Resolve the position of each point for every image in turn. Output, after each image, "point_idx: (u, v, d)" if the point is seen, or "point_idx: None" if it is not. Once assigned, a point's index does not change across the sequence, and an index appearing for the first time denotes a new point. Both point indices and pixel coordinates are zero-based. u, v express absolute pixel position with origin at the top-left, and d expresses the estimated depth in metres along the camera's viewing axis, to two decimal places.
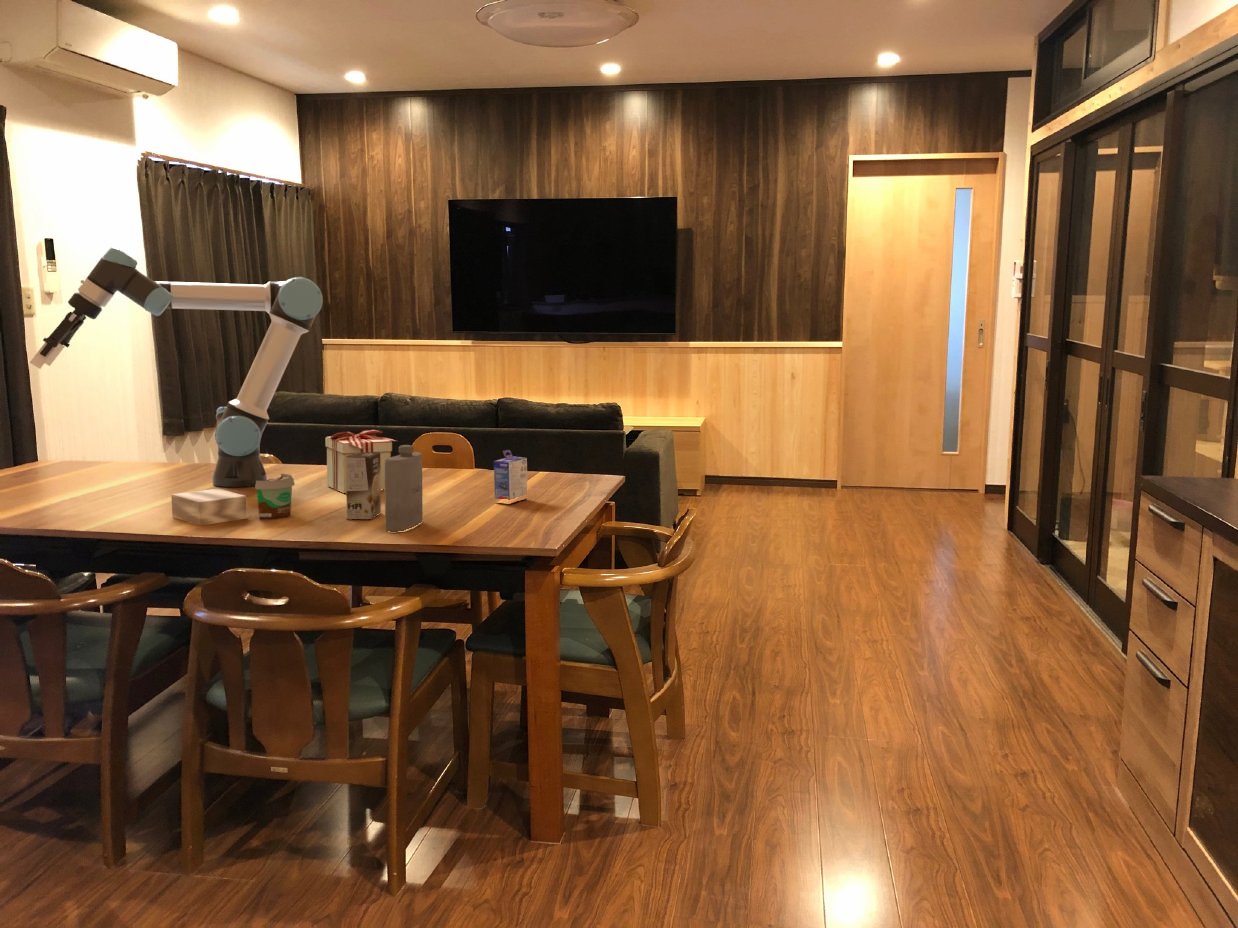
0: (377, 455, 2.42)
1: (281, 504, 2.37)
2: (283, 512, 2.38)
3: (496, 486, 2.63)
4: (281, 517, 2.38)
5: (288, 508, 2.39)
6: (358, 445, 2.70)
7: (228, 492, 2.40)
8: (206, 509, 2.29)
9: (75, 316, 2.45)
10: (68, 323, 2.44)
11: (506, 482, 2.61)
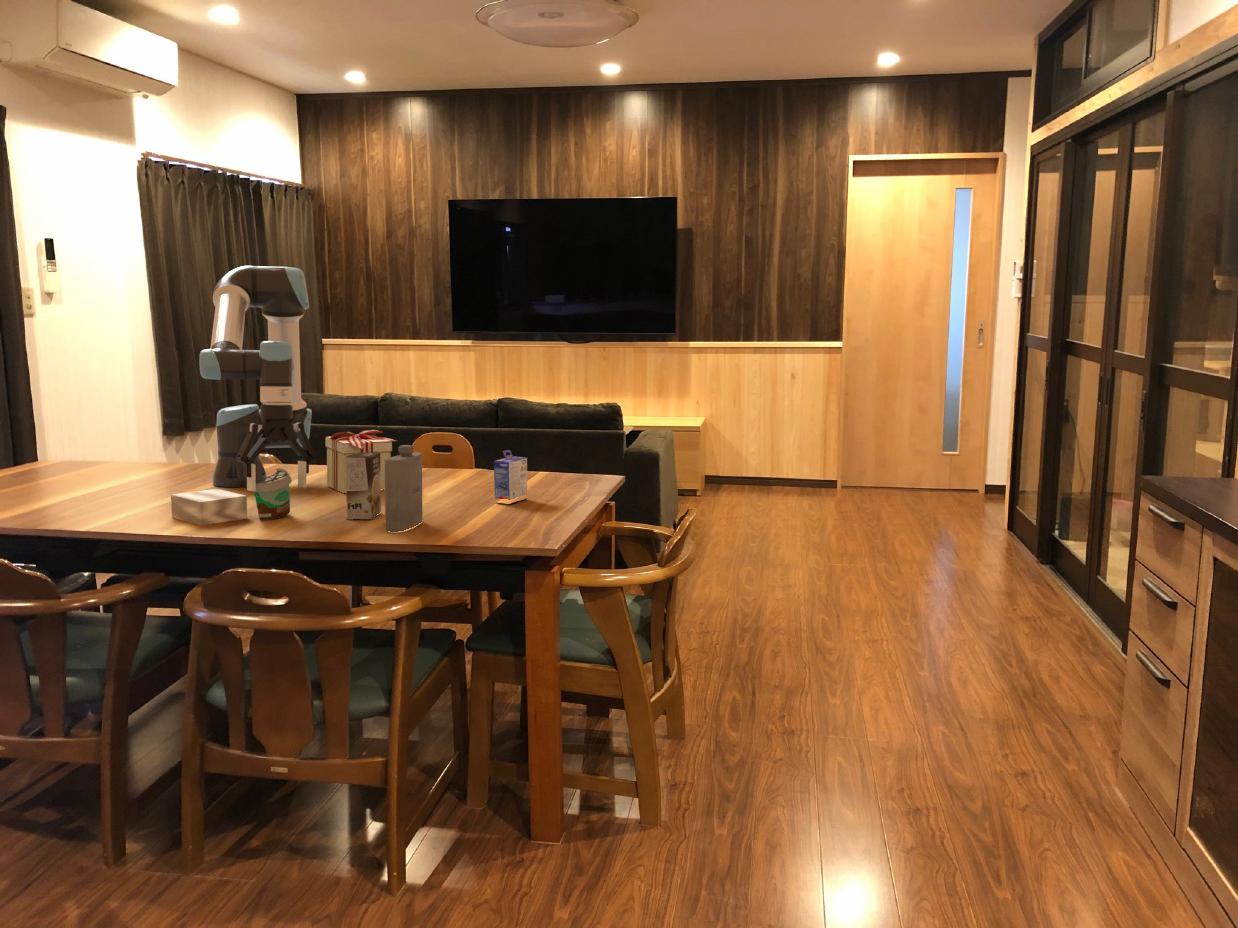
0: (377, 455, 2.42)
1: (280, 503, 2.36)
2: (282, 510, 2.37)
3: (496, 486, 2.63)
4: (281, 516, 2.37)
5: (287, 505, 2.39)
6: (358, 445, 2.70)
7: (228, 492, 2.40)
8: (207, 509, 2.29)
9: None
10: None
11: (506, 482, 2.61)
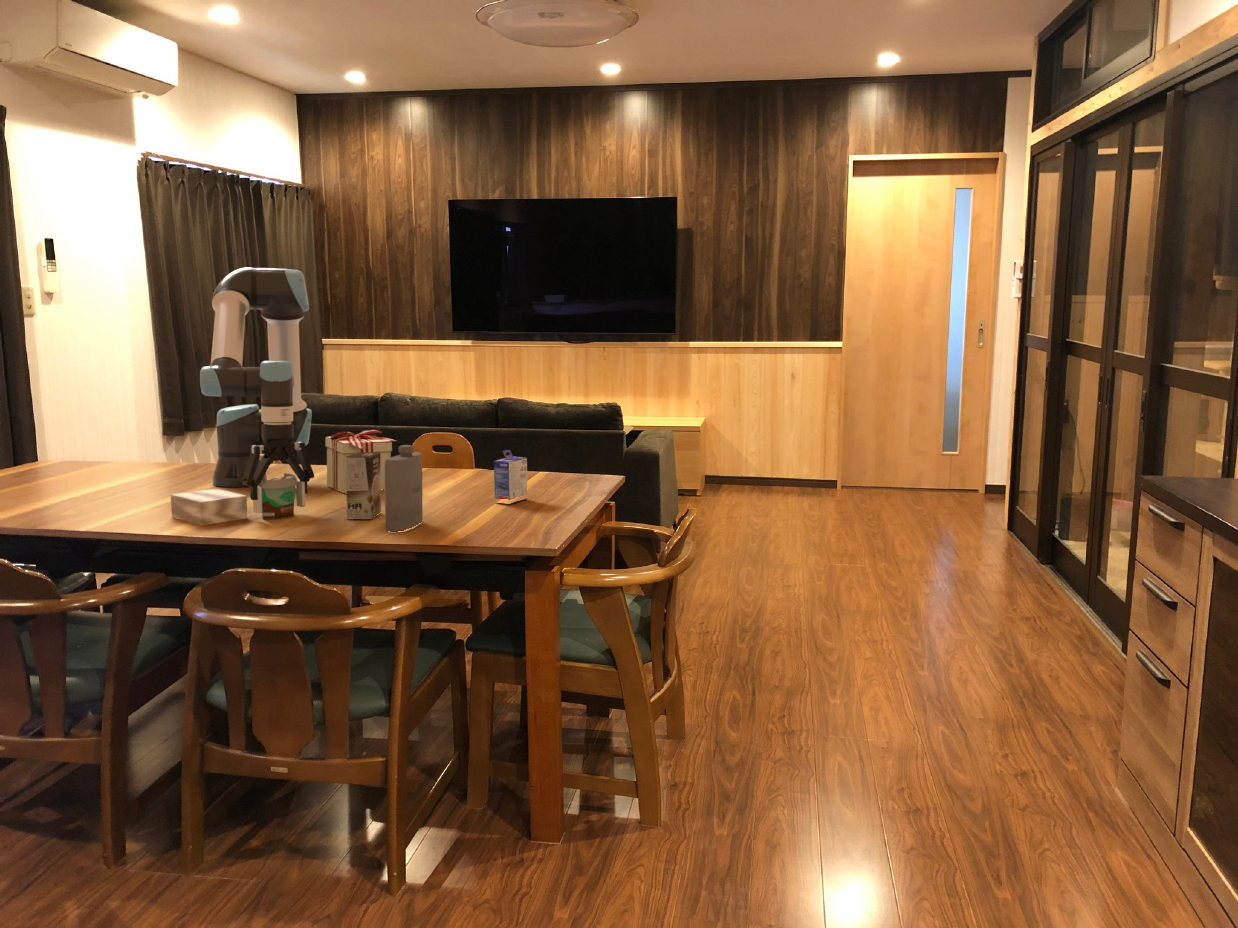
0: (377, 455, 2.42)
1: (284, 503, 2.38)
2: (286, 511, 2.39)
3: (496, 486, 2.63)
4: (284, 516, 2.38)
5: (291, 507, 2.40)
6: (358, 445, 2.70)
7: (228, 492, 2.40)
8: (207, 509, 2.29)
9: None
10: None
11: (506, 482, 2.61)
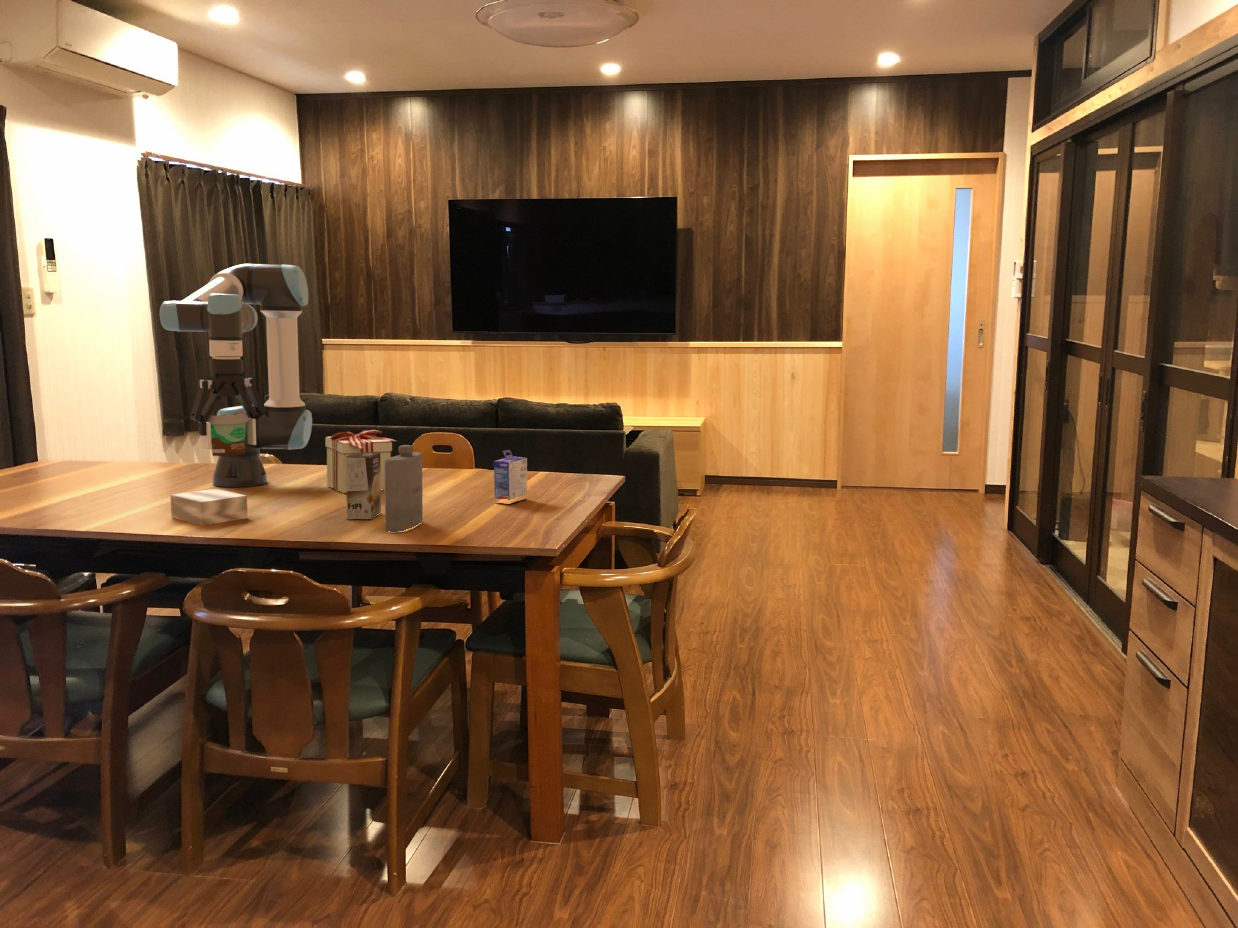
0: (377, 455, 2.42)
1: (234, 440, 2.34)
2: (237, 448, 2.35)
3: (496, 486, 2.63)
4: (235, 453, 2.35)
5: (242, 445, 2.36)
6: (358, 445, 2.70)
7: (227, 492, 2.40)
8: (208, 509, 2.29)
9: None
10: None
11: (506, 482, 2.61)
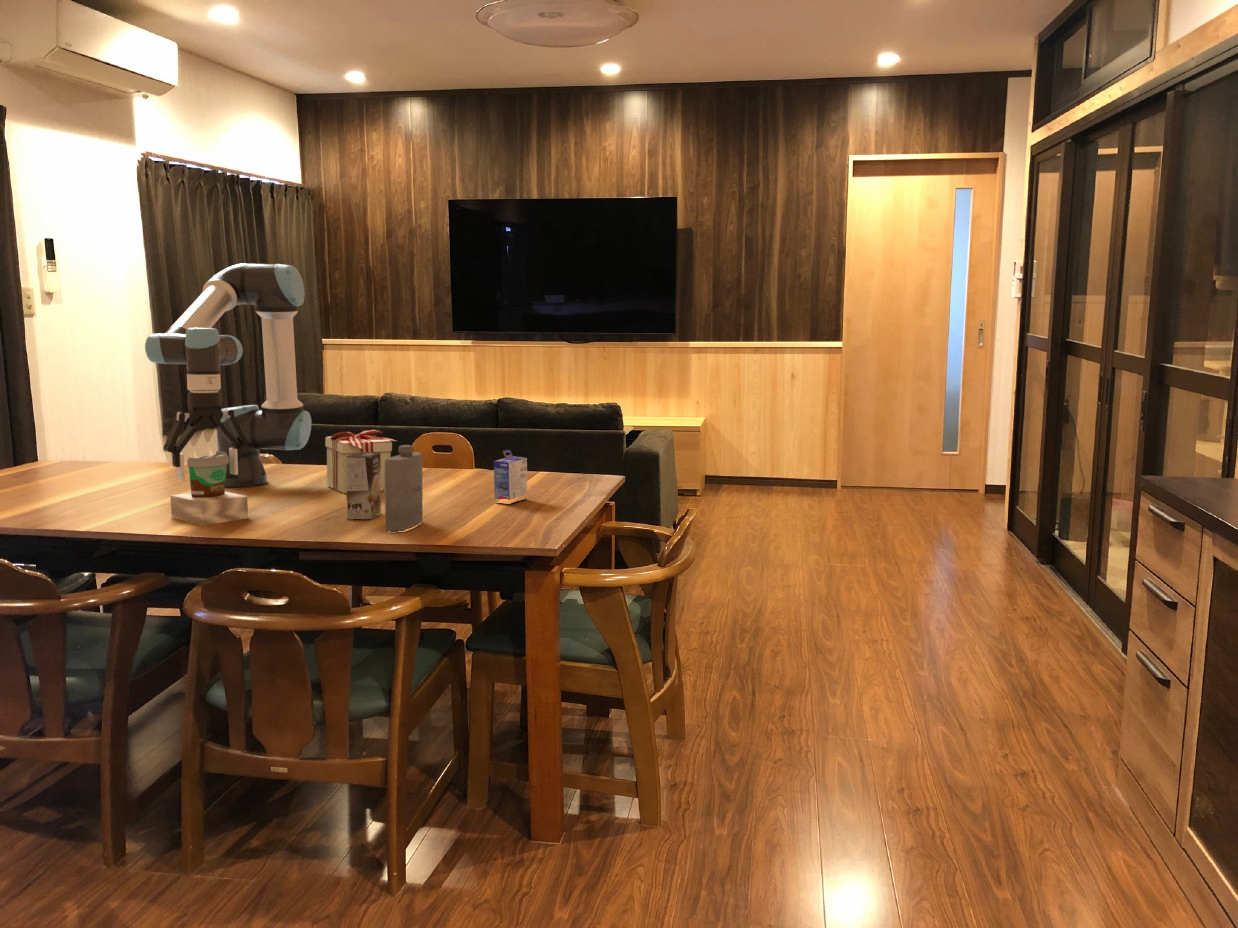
0: (377, 455, 2.42)
1: (214, 482, 2.34)
2: (216, 490, 2.35)
3: (496, 486, 2.63)
4: (214, 495, 2.35)
5: (222, 486, 2.36)
6: (358, 445, 2.70)
7: (227, 493, 2.40)
8: (209, 510, 2.29)
9: None
10: None
11: (506, 482, 2.61)
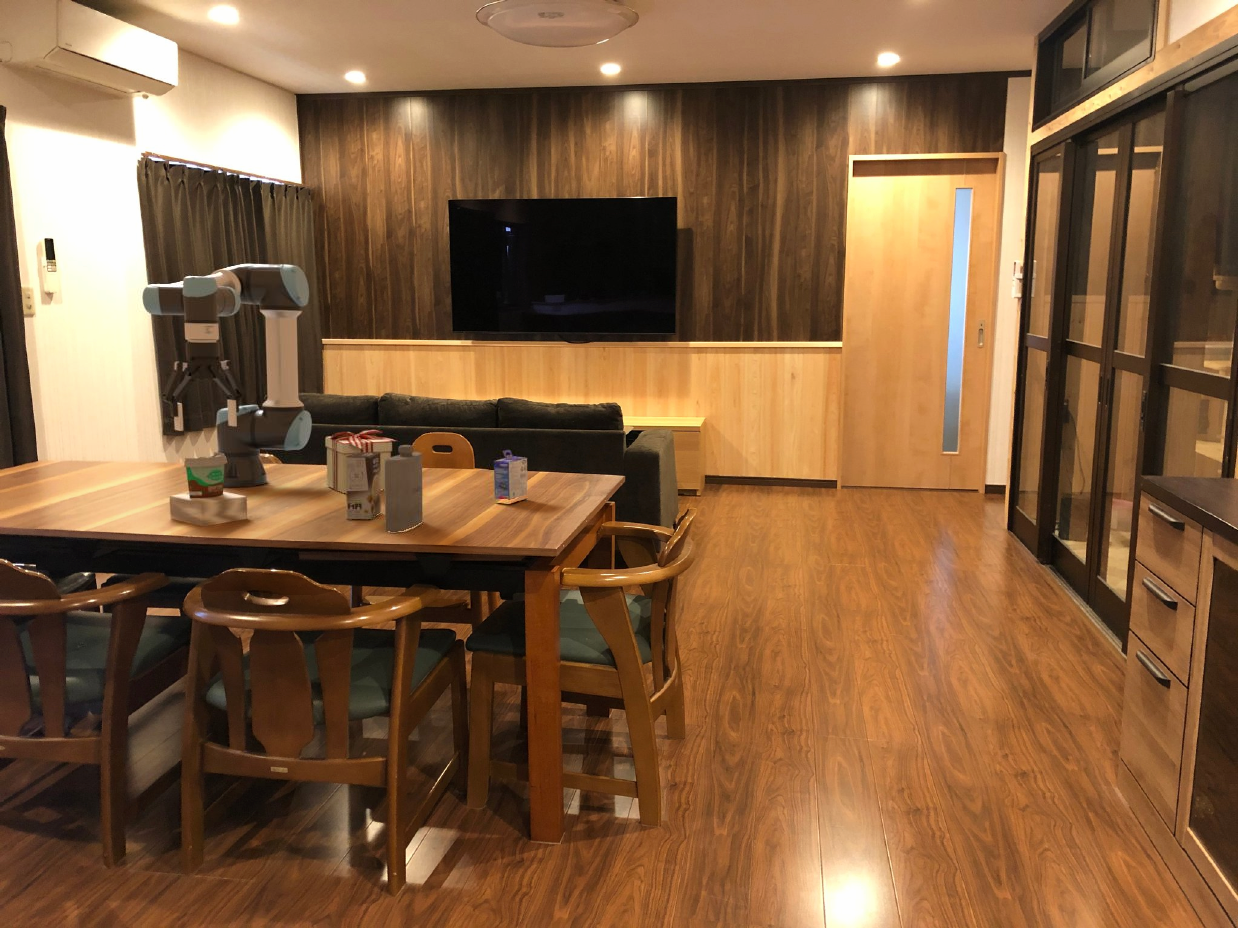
0: (377, 455, 2.42)
1: (212, 482, 2.33)
2: (214, 491, 2.34)
3: (496, 486, 2.63)
4: (212, 496, 2.34)
5: (220, 487, 2.35)
6: (358, 445, 2.70)
7: (227, 493, 2.39)
8: (208, 510, 2.28)
9: None
10: None
11: (506, 482, 2.61)
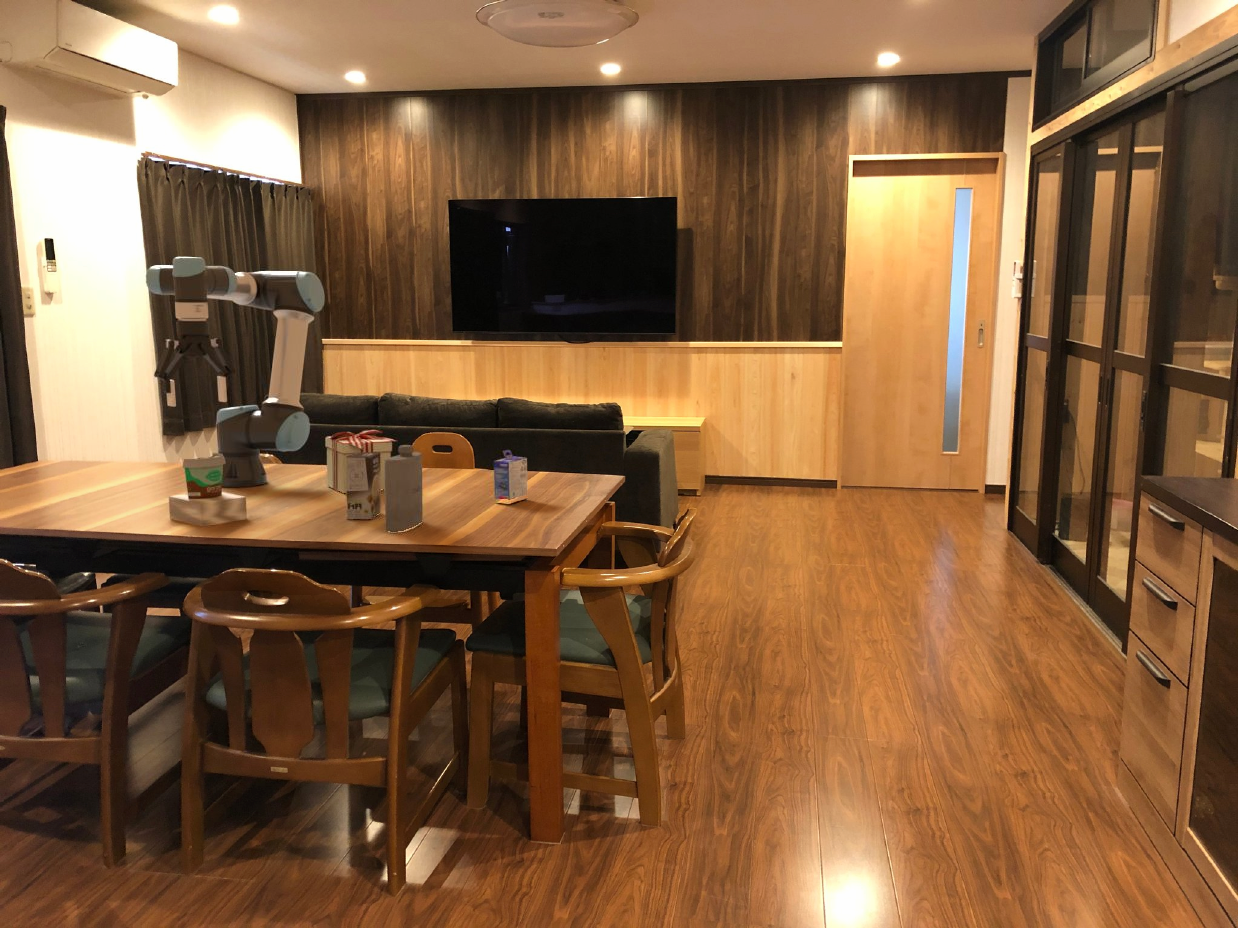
0: (377, 455, 2.42)
1: (210, 483, 2.32)
2: (213, 491, 2.33)
3: (496, 486, 2.63)
4: (211, 496, 2.33)
5: (218, 487, 2.35)
6: (358, 445, 2.70)
7: (226, 493, 2.39)
8: (208, 510, 2.28)
9: None
10: None
11: (506, 482, 2.61)
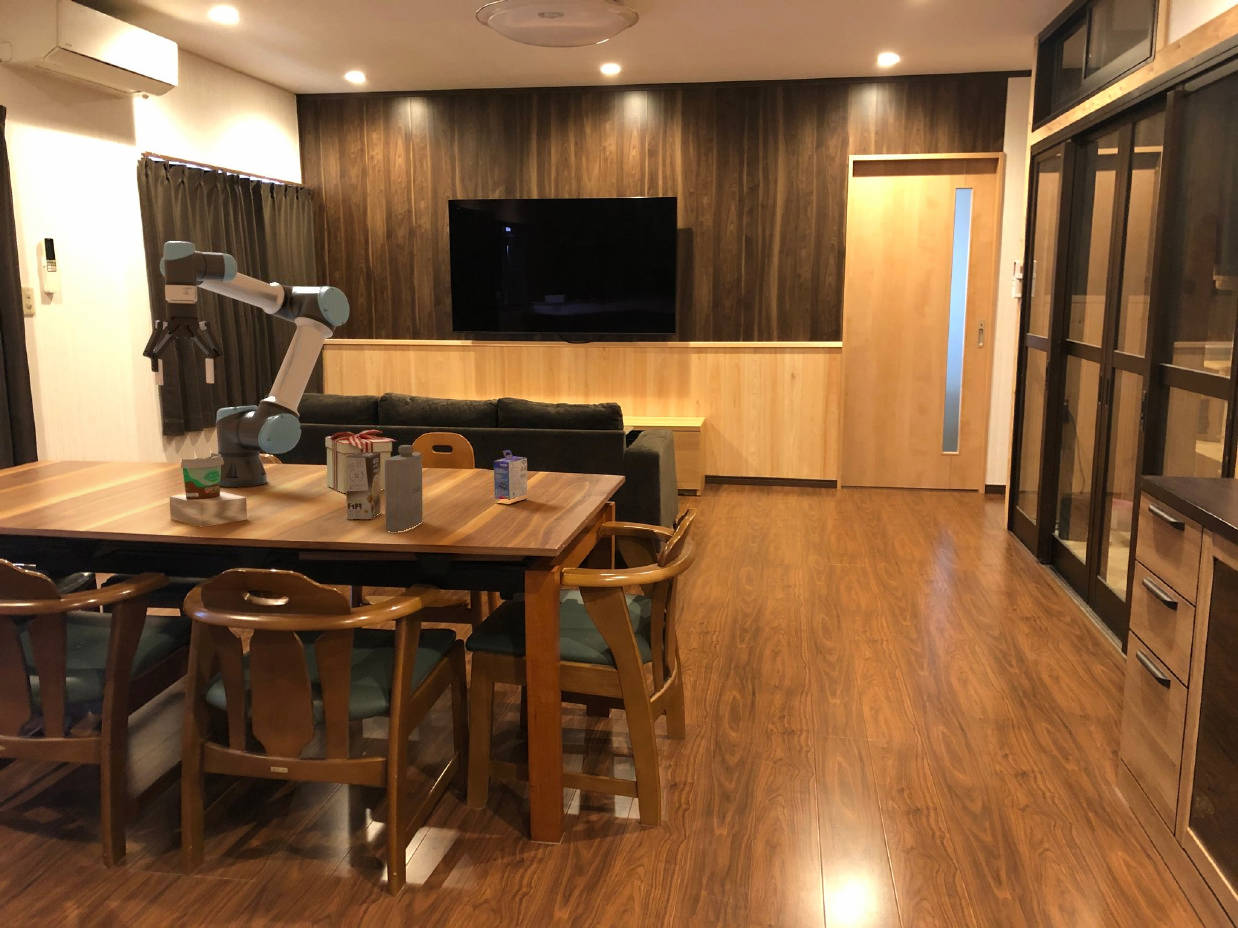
0: (377, 455, 2.42)
1: (208, 483, 2.31)
2: (211, 492, 2.32)
3: (496, 486, 2.63)
4: (209, 497, 2.32)
5: (216, 488, 2.34)
6: (358, 445, 2.70)
7: (227, 494, 2.39)
8: (207, 511, 2.27)
9: None
10: None
11: (506, 482, 2.61)
